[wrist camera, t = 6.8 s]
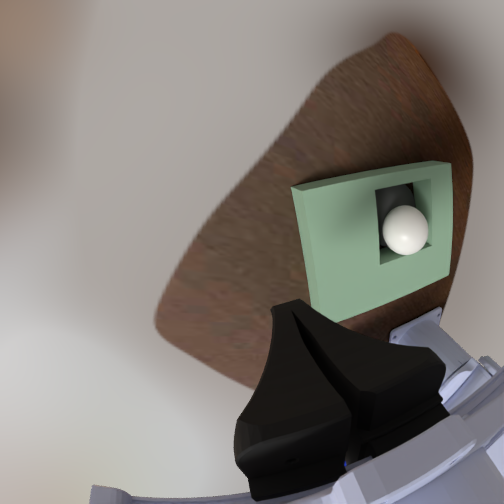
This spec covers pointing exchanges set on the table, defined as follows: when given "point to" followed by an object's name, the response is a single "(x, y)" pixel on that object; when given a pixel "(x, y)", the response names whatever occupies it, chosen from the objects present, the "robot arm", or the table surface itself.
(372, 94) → the table surface
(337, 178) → the green
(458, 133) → the table surface
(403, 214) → the ball
